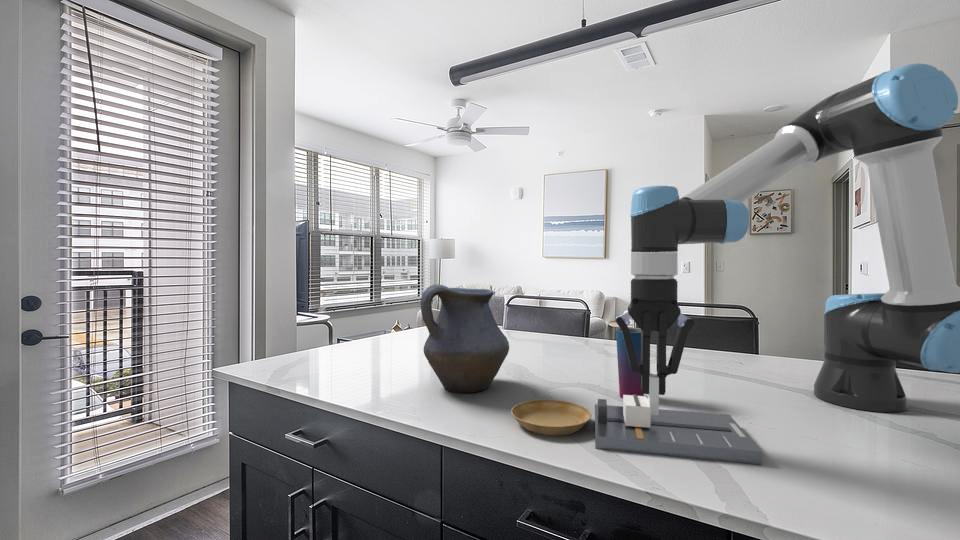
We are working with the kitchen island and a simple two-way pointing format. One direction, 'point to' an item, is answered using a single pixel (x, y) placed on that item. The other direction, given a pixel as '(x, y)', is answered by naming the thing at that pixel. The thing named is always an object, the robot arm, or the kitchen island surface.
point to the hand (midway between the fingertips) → (653, 412)
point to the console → (676, 435)
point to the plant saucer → (551, 416)
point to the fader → (636, 411)
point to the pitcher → (463, 338)
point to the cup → (628, 364)
